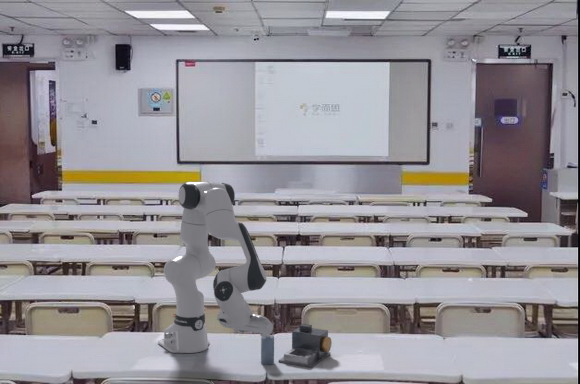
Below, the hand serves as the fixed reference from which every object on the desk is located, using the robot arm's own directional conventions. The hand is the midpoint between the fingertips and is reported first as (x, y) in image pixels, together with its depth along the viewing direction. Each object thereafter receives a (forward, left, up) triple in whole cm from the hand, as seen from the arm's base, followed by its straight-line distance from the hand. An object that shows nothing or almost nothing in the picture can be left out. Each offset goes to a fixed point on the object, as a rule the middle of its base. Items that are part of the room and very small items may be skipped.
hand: (253, 333), depth 276 cm
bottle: (-4, +11, -15) cm, 18 cm away
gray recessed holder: (+2, +26, -15) cm, 30 cm away
